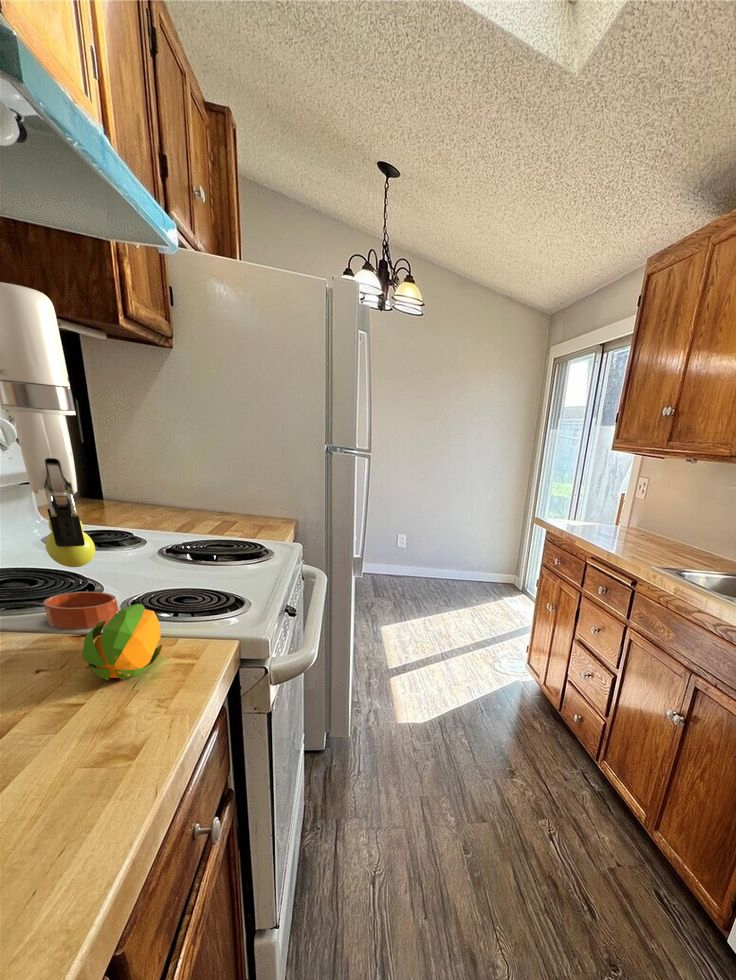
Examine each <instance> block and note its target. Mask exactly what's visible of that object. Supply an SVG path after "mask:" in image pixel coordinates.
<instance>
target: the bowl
mask: <svg viewBox="0 0 736 980" xmlns="http://www.w3.org/2000/svg"><path fill="white" fill-rule="evenodd" d="M43 606H44V611H45V614H46V619H47V623H48V625H49V626H50V627H52V628H56V629H61V630H70V631H71V630H74V631H75V630H76V631H78V630H92V629H93V628H94V627H95V626H96V625H97V624H98V623H100V622H102V621H105V620H106V622H105V624H104V626H103V627H105V626H106V625H107V623H108V622H109V621H110V620H111V618H112V617H113V616H114V615H115V614H116V613H117V612H119V611H120V610H119V606H118V601H117V598H116V596H115V595H113V594H111V593H107V592H106V593H105V592H101V591H99V592H98V591H75V592H66V593H61V594H56V595H52V596H50V597H47V598H46V599H45V600H43ZM102 634H103V632H101V634H100V635H99V636H101V635H102ZM87 635H88V633H87V634H78V635H69V636H67V637H68V638H85V637H86V636H87Z"/></svg>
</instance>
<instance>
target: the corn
mask: <svg viewBox="0 0 736 980" xmlns="http://www.w3.org/2000/svg"><path fill="white" fill-rule="evenodd" d="M118 611H119V612H117V613H116V614H115V615H114V616H113V617H112V618H111V620H110V621H109V622H108V623H107V625H106V626H104V624H105V622H106V620H105V621H102V622H100V623H98V624H97V625H96V626H95V627H94V628H91V629H90V631H89V632H88V633H87V634H88V635H87V634H86V635H87V636H86V637H84V639H83V648H82V657H83V660H84V661H86V663H87V664H88V666H89V667H90V668H91V670H92V671H93V673H94V674H95V675H96V676H98V677H100V678H102V679H104V680H106V681H109V680H110V679H112V678H113V679H114V678H116V679H117V678H118V679H120V680H124V681H128V680H131V679H132V678H135V677H137V676H140V675H142V674H143V673H145V671H147V670H148V669H149V667H151V666H152V664H153V663H154V662H155V660H156V659H157V658H158V656H159V655H160V654H161V650H162V647H163V644H160V645H158V644H159V641H160V639H161V630H162V629H161V628H162V627H161V624H160V622H159V619H158V617H157V615H156V613H155V611H154V610H151V609H146V608H145V606H144V605H143V604H141V603H135V604H131V605H129V606H125V607H123V608H121V609H120V610H118ZM101 633H103V634H101ZM100 634H101V635H100ZM97 637H98V638H97ZM96 638H97V639H96ZM95 639H96V640H95ZM94 640H95V641H94ZM157 646H158V647H157Z"/></svg>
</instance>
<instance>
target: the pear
mask: <svg viewBox="0 0 736 980" xmlns="http://www.w3.org/2000/svg"><path fill="white" fill-rule="evenodd" d="M71 515H72V514H71ZM80 524H81V528H82V533H83V538H84V542H85V544H84V545H83V546H65V547H59V546H57V545H56V543H55V539H54V535H53V530H52V526H51V522H50V518H48V528H49V530H50V533H49V534H48V535H47V537H46V539H45V550H46V552H47V554H48V556H49V557H50V558H51V559H52V560H53V561H54V562H56V563H57V564H59V565H61V566H64V567H67V568H80V567H84V566H86V565H88V564H89V563H90V562H92V560H93V559H94V557H95V554H96V546H95V543H94V541H93V539H92V538H91V536H89V535H88V533H86V532H84V525H83V522H82V521H81V520H80Z"/></svg>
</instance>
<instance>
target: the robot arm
mask: <svg viewBox="0 0 736 980" xmlns="http://www.w3.org/2000/svg"><path fill="white" fill-rule="evenodd" d="M71 388H72V387H71V384H70V378H69V374H68V369H67V364H66V359H65V354H64V349H63V345H62V339H61V335H60V330H59V324H58V319H57V314H56V311H55V307H54V305H53V302H52V301H51V299H50V298H49V297H48V295H46V294H45V293H43V292H41V291H39V290H37V289H34V288H31V287H27V286H24V285H19V284H14V283H7V282H2V281H0V407H1V410H7V411H13V417H14V425H15V429H16V434H17V435H16V436H17V439H18V443H19V447H20V451H21V456H22V459H23V463H24V467H25V472H26V475H27V479H28V483H29V487H30V490H31V492H33V493H34V494H38V495H39V491H44V492H45V496H46V500H47V504H48V508H47V514H48V517H49V518H48V519H50V522H51V526H52V530H53V535H54V539H55V543H56V545H57V546H59V547H65V546H83V545H84V544H85V542H84V538H83V533H82V528H81V524H80V521H81V519H80V516H79V515H78V514H77V510H76V506H75V501H74V498H73V495H75V494H76V493H77V492H78V484H77V475H76V474H77V473H76V467H75V461H74V453H73V448H72V443H71V438H70V433H69V429H68V423H67V417H66V416H76V415H77V414H76V408H75V403H74V399H73V398H74V397H73V393H72V389H71ZM71 514H72V515H71Z"/></svg>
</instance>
